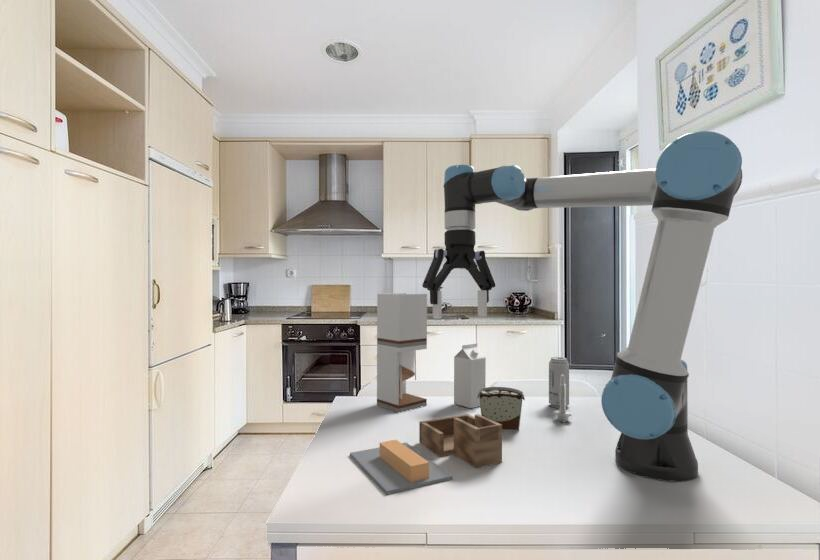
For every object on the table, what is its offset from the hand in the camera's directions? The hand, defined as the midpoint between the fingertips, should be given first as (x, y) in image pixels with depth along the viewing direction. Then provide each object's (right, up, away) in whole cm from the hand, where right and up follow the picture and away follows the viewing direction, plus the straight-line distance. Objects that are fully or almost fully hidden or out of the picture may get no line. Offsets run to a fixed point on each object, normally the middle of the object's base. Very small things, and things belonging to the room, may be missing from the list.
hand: (460, 317), depth 106 cm
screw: (+30, -30, +16) cm, 46 cm away
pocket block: (0, -30, -7) cm, 31 cm away
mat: (-15, -30, -15) cm, 37 cm away
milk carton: (+7, -31, +32) cm, 44 cm away
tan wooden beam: (-14, -29, -17) cm, 36 cm away
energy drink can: (+34, -31, +30) cm, 55 cm away
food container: (+12, -30, +11) cm, 34 cm away
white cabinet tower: (-15, -30, +30) cm, 45 cm away
